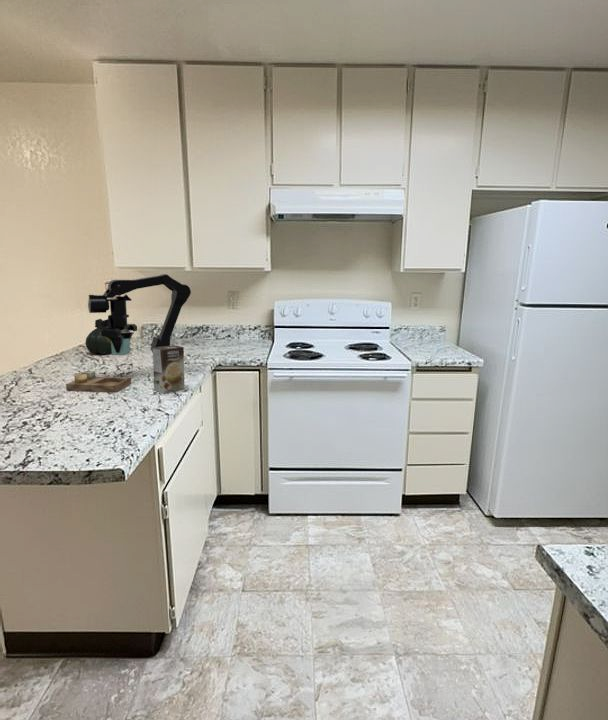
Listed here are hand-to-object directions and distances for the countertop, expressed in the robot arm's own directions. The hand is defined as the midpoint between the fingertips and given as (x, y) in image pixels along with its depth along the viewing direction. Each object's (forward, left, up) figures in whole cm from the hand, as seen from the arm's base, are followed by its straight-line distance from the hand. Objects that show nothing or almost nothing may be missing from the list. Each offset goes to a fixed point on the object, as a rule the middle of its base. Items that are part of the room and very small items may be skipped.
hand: (121, 351), depth 162 cm
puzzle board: (+2, +14, -11) cm, 18 cm away
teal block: (0, 0, -1) cm, 1 cm away
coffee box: (-24, +14, -11) cm, 30 cm away
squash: (+33, -48, -11) cm, 60 cm away
